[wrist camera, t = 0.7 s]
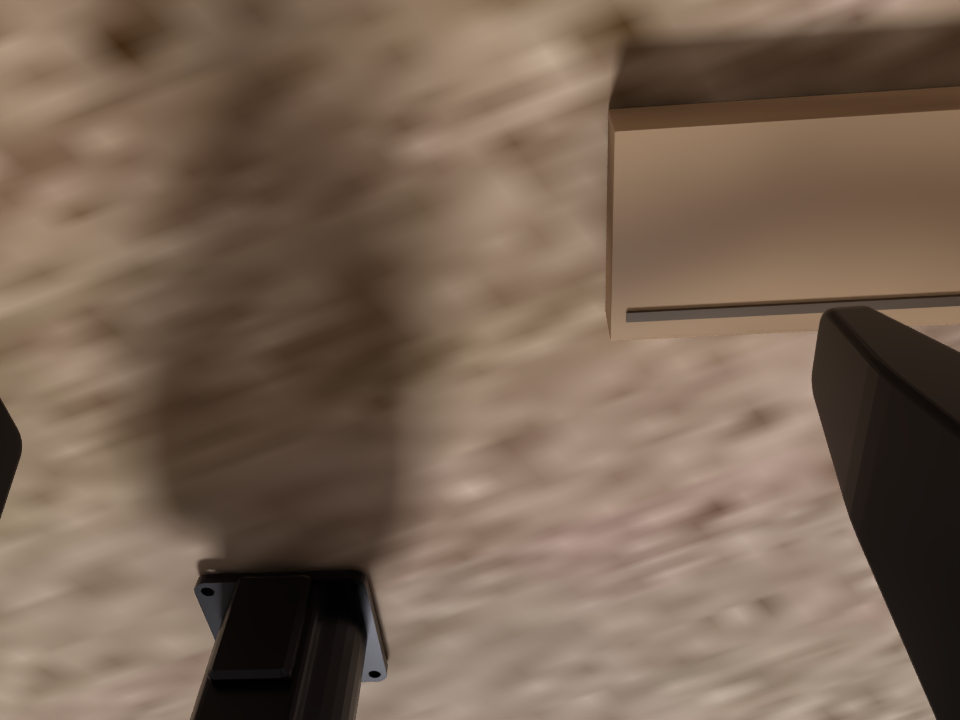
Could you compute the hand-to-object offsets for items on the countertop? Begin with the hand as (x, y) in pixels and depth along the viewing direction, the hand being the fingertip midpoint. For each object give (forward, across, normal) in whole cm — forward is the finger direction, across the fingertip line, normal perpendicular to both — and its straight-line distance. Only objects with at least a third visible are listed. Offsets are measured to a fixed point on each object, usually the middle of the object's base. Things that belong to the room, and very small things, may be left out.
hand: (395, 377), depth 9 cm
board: (+14, -12, +5) cm, 19 cm away
